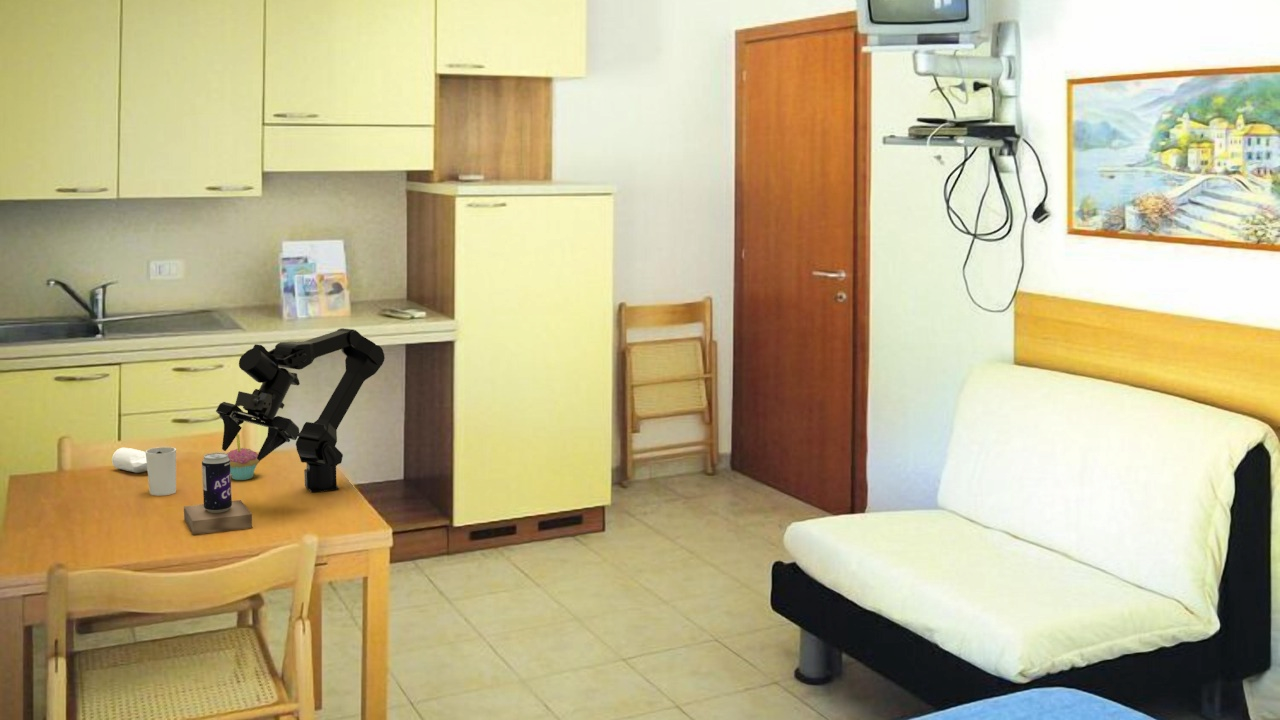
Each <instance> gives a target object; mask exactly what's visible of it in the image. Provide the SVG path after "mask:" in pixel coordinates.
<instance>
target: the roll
mask: <svg viewBox="0 0 1280 720" xmlns="http://www.w3.org/2000/svg"><path fill="white" fill-rule="evenodd" d="M111 463H112V465H113V467H114V468H116V469H118V470H123V471H127V472H132V473H136V474H137V473H138V474H139V473H144V472H148V471H147V461H146V451H143V450H140V449H136V448H130V447H120V448H118V449H117V450H115V451H114V453H113V455H112V457H111Z"/></svg>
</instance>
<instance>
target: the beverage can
mask: <svg viewBox="0 0 1280 720" xmlns="http://www.w3.org/2000/svg"><path fill="white" fill-rule="evenodd" d="M201 470H202V472H201V473H202V492H203V493H202V494H203V504H204V508H205V509H207V510H208V512H211V513H220V512H225V511H227V510H228V509H229V508H230V507H231V506H232V501H233V500H232V498H233V497H232V476H231V473H230V460H229V458H228V454H227V453H225V452H211V453H206V454H204V455H203V459H202V461H201Z"/></svg>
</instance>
